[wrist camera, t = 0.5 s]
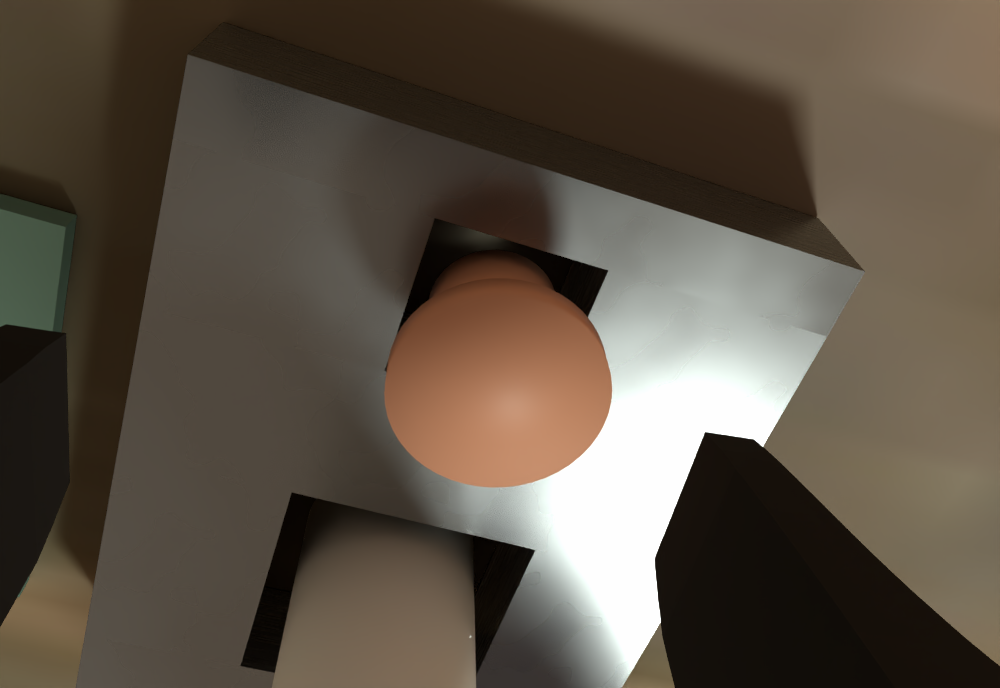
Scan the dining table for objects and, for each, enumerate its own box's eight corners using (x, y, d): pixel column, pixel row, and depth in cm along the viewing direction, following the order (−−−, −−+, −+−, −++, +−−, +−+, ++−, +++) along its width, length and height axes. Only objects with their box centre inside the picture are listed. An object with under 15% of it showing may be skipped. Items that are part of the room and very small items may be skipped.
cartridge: (445, 607, 24) (438, 995, 16) (289, 573, 23) (204, 963, 15) (495, 489, 22) (515, 862, 14) (328, 447, 21) (254, 819, 14)
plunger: (549, 410, 19) (564, 508, 16) (373, 363, 18) (358, 457, 15) (618, 252, 17) (647, 332, 14) (427, 193, 16) (421, 266, 14)
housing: (556, 701, 26) (565, 783, 24) (110, 610, 23) (74, 692, 21) (818, 218, 19) (865, 271, 17) (223, 22, 17) (187, 54, 14)
